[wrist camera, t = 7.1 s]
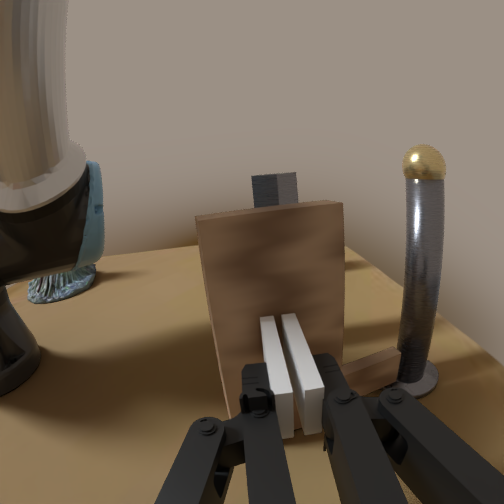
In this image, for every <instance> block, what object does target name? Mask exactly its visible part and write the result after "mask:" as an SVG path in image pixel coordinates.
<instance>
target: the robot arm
mask: <svg viewBox="0 0 504 504" xmlns="http://www.w3.org/2000/svg"><path fill="white" fill-rule="evenodd" d="M67 9H68V0H0V396H1V395H3V394H5V393H7V392H9V391H11V390H13V389H14V388H16V387H17V386H19V385H20V384H22V383H23V382H24V381H25V380H26V379H27V378H29V377H30V375H31V374H32V373H33V372H34V371H35V369H36V368H37V366H38V364H39V362H40V359H41V352H40V349H39V347H38V344H37V342H36V339H35V337H34V336H33V334H32V333H31V331H30V330H29V329H28V327H27V326H26V325H25V323H24V322H23V320H22V319H21V317H20V316H19V315H18V313H17V312H16V310H15V309H14V307H13V306H12V304H11V302H10V300H9V297H8V294H7V290H6V287H5V286H6V285H10V284H13V283H18V282H22V281H27V280H31V279H36V278H40V277H45V276H49V275H54V274H58V273H63V272H68V271H75V270H76V269H78V268H80V267H83V266H86V265H90V264H93V263H95V262H97V261H98V260H99V259H100V258H101V256H102V254H103V251H104V236H105V235H104V212H103V189H102V178H101V171H100V167H99V164H98V163H97V162H91V161H86V155H85V152H84V150H83V148H82V147H81V146H80V145H79V144H77V143H76V142H74V141H72V140H70V139H69V131H68V119H67V105H66V86H65V85H66V84H65V42H66V22H67ZM281 318H282V334H283V350H284V355H283V351H282V347H281V343H280V340H279V336H278V332H277V328H276V324H275V320H274V316H266V317H260V325H261V335H262V345H263V356H264V362H263V363H254V364H245V366H244V368H243V369H242V371H241V377H242V393H241V394H240V397H239V402H240V407H241V412H240V413H239V414H238V415H237V416H235V417H234V418H232V419H229V420H226V421H223V422H222V421H221V420H219V419H218V418H214V417H204V418H200V419H198V420H196V421H195V422H193V424H192V425H191V426H190V428H189V431H188V433H187V435H186V437H185V439H184V441H183V444H182V446H181V448H180V450H179V452H178V454H177V457H176V459H175V461H174V463H173V465H172V467H171V469H170V472H169V474H168V476H167V478H166V480H165V482H164V484H163V486H162V489H161V491H160V493H159V495H158V497H157V499H156V501H155V503H154V504H224V500H225V497H226V494H227V490H228V487H229V483H230V480H231V476H232V473H233V469H234V466H237V465H240V464H243V463H246V475H247V486H248V497H249V504H296V502H295V497H294V492H293V488H292V483H291V478H290V474H289V469H288V464H287V460H286V455H285V450H284V446H283V441H282V439H284V438H292V437H294V411H293V393H294V397H295V401H296V405H297V409H298V412H299V416H300V420H301V424H302V428H303V432H304V435H310V434H316V433H321V432H322V426H323V429H324V432H325V436H324V447H323V451H326V449H327V453H328V456H329V460H330V464H331V467H332V471H333V475H334V478H335V482H336V486H337V490H338V493H339V497H340V501H341V504H408V502H407V500H406V497H405V495H404V493H403V490H402V488H401V486H400V483H399V481H398V479H397V476H396V474H395V472H396V473H397V475H398V476H399V477H400V478H401V479H402V480H403V482H404V483H405V484H406V485H407V486H408V487H409V489H410V490H411V491H412V492H413V493H414V494H415V496H416V497H417V498H418V499H419V500H420V501H421V502H422V504H504V476H503V475H502V474H501V473H500V472H499V471H498V470H496V469H495V468H494V467H493V466H492V465H491V464H490V463H488V462H487V461H486V460H485V459H484V458H483V457H482V456H480V455H479V454H478V453H477V452H476V451H475V450H474V449H472V448H471V447H470V446H469V445H468V444H467V443H466V442H464V441H463V440H462V439H461V438H460V437H459V436H458V435H456V434H455V433H454V432H453V431H452V430H451V429H450V428H448V427H447V426H446V425H445V424H444V423H443V422H442V421H440V420H439V419H438V418H437V417H436V416H435V415H434V414H432V413H431V412H430V411H429V410H428V409H427V408H426V407H424V406H423V405H422V404H421V403H420V402H419V401H418V400H416V399H415V398H414V397H413V396H412V395H411V394H410V393H408V392H407V391H406V390H404V389H402V388H398V387H391V388H388V389H385V390H384V391H382V392H381V394H380V395H379V397H363V396H359V394H358V393H357V392H356V391H354V390H352V389H350V387H349V385H348V383H347V381H346V379H345V377H344V375H343V373H342V371H341V370H340V367H339V365H338V363H337V361H336V360H335V358H334V357H333V356H332V355H330V354H329V353H322V354H316V355H312V354H311V352H310V349H309V347H308V344H307V342H306V340H305V337H304V335H303V332H302V330H301V327H300V325H299V322H298V320H297V317H296V315H295V313H291V314H283V315H281ZM284 358H285V359H284ZM285 362H286V363H285ZM286 365H287V367H286ZM287 369H288V371H287ZM288 373H289V375H288ZM289 377H290V379H289ZM290 381H291V383H290ZM291 385H292V387H291ZM292 389H293V390H292ZM394 471H395V472H394Z"/></svg>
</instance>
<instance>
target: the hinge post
mask: <svg viewBox="0 0 504 504" xmlns="http://www.w3.org/2000/svg"><path fill="white" fill-rule="evenodd" d="M402 168H403V174H404V176H405V178H406V210H407V211H406V217H407V223H406V224H407V225H406V226H407V227H406V261H405V278H404V291H403V302H402V312H401V321H400V329H399V336H398V343H397V350H398V351H399V352H401V358H400V364H399V369H398V374H397V379H396V381H395V382H393V383H391V384H389V385H387V386H384V387H382V388H380V389H381V390H382V391H384V390H385V389H388V388H391V387H398V388H402V389H404V390H406V391H407V392H408V393H410V394H411V395H412V396H413V397H414V398H415V399H418V398H422V397H424V396H426V395H428V394H430V393H431V392H432V391H433V390H434V388H435V387H436V384H437V381H438V371H437V368H436V367H435V366H434V365H433V364H432V363H431V362H430V361H428V360H427V358H428V353H429V349H430V344H431V339H432V333H433V328H434V322H435V316H436V309H437V302H438V295H439V287H440V278H441V268H442V254H443V239H444V238H443V237H444V178H445V175H446V165H445V161H444V159H443V156H442V155H441V154H440V152H439V151H437V150H436V149H435V148H434V147H432V146H429V145H425V144H420V145H416V146H413V147H412V148H410V149H409V150H408V151H407V152H406V154H405V156H404V158H403V163H402Z"/></svg>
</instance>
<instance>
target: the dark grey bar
mask: <svg viewBox="0 0 504 504" xmlns="http://www.w3.org/2000/svg"><path fill="white" fill-rule="evenodd" d="M252 188H253V198H254V208H259V207H268V206H276V205H285V204H293V203H298V192H297V179H296V172H293V173H277V174H265V175H256V176H252Z"/></svg>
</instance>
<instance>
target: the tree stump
mask: <svg viewBox="0 0 504 504" xmlns="http://www.w3.org/2000/svg"><path fill="white" fill-rule="evenodd" d="M95 265H96V264H90V265H86V266H83V267H80V268H78V269H76V270H75V271H68V272H63V273H58V274H54V275H49V276H45V277H40V278H36V279H34V280H33V281H32V282H29V289H28V301H30V302H32V303H34V304H40V303H52V302H56V301H61V300H64V299H67V298H70V297H72V296H75V295H77V294H79V293H81V292H83V291H85V290H87V289H88V288H89V287H90V286H91V285H92V283H93V280H94V277H95V274H96V268H95Z"/></svg>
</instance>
